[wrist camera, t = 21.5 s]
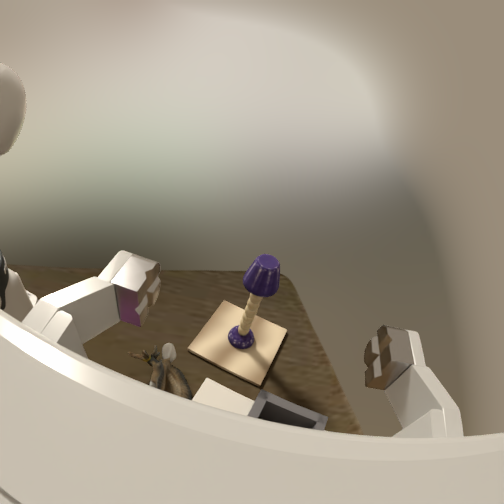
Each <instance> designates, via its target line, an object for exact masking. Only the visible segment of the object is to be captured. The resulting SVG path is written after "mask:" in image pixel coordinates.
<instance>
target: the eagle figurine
mask: <svg viewBox="0 0 504 504" xmlns="http://www.w3.org/2000/svg"><path fill="white" fill-rule="evenodd" d="M128 354H129V355H130V356H131V357H134V358H138V359H141V360H143V361H146V362H148V364H149V365H150V366H152V367H153V369H154V370H153V373H152V376H151V380H150V385H149V386H152V387H155V388H157V389H160V390H163V391H164V388H165V391H166V392H168V393H171V394H174V395H177V396H180V397H183V398H186V399H189V400H192V398H191V397H192V395H191V391H190V388H189V386H188V383H187V381H186V379H185V377H184V375H183V373H182V372H181V371H180V370H179V369H178V368H176V367H173V365H171V362H172V361H173V360H174V359H175V358H176V352H175V348H174V346H173V344H171V343H167V344H165V345H164V346H163V348H162V360H161V359H159V360H160V361H158V360H157V359H156V358H157V357H158V355H159V354H160V352H158V353H157V346H156V345H155V346H154V351H153V353H152V354H151V356H149V355H148V354H147V352H146V351H145V350H143V351H142V355H140V354H134V353H132V352H128Z"/></svg>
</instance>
